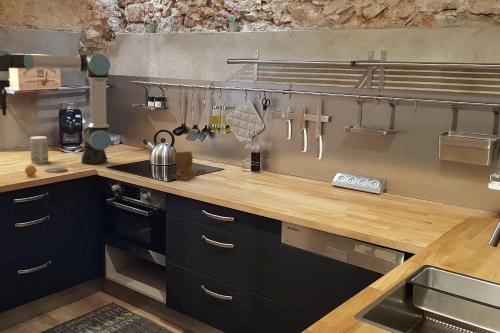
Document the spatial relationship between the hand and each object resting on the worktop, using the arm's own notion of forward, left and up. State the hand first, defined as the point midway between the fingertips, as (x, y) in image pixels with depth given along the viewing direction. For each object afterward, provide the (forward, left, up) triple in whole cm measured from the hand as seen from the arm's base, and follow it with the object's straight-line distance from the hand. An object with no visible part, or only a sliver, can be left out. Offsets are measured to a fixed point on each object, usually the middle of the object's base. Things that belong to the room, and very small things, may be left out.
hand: (3, 120), depth 277 cm
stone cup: (-86, +42, -28) cm, 100 cm away
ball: (-11, +14, -25) cm, 31 cm away
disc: (-25, +5, -28) cm, 38 cm away
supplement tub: (-19, -23, -28) cm, 41 cm away
